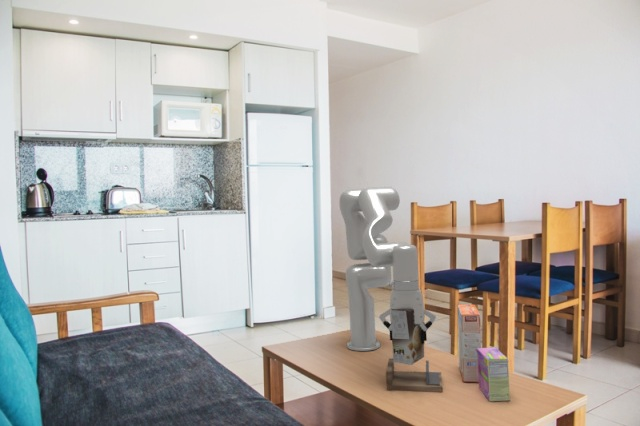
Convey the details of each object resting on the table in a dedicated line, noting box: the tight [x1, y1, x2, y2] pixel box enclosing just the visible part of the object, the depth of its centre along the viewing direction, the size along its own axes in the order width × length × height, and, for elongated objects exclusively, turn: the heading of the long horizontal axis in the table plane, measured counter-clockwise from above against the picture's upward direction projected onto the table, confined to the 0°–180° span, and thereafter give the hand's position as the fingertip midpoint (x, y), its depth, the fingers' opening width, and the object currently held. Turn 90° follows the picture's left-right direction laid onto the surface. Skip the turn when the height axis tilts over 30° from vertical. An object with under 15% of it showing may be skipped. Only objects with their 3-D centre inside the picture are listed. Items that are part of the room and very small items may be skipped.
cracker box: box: [457, 304, 482, 383], centre depth 158 cm, size 14×6×21 cm, turn 168°
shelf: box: [385, 358, 444, 393], centre depth 153 cm, size 12×16×6 cm
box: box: [477, 347, 510, 402], centre depth 142 cm, size 10×6×12 cm, turn 178°
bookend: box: [425, 360, 440, 386], centre depth 152 cm, size 10×4×4 cm, turn 168°
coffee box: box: [391, 309, 425, 366], centre depth 153 cm, size 9×6×16 cm
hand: (408, 342), depth 153 cm, fingers closed on coffee box, 8 cm apart
